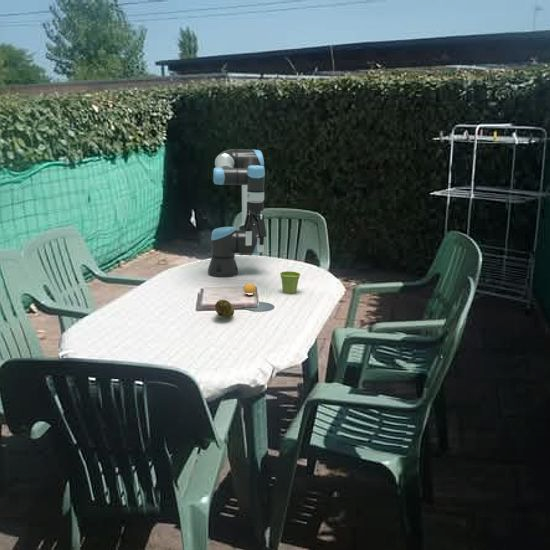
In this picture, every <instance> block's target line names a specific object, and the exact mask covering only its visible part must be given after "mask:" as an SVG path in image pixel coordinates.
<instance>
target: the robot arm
mask: <svg viewBox="0 0 550 550" xmlns="http://www.w3.org/2000/svg"><path fill="white" fill-rule="evenodd" d="M214 166H215V167H214V168H213V183H214V185H220V186H222V185H226V186H227V185H228V186H230V185H231V186H233V185H236V186H241V224H240V225H239V226H238V229H236V228H235V226H222V227H218V228H214V229H213V230H212V232H211V238H210V241H211V257H210V262H209V265H208V268H207V274H208V275H209V276H212V277H217V278H229V277H230V278H231V277H236V276H237V275H238V274H239V268H238V265H237V262H236V257H235V255H236V254H252V255H253V254H261V253H264V252H265V251H264V250H265V247H264V246H265V239H266V238H267V236H268V235H267V230H266V225H265V214H263V213H261V212H262V211H264V210H265V207H264V206H265V202H264V201H265V179H266V177H265V176H266V171H265V170H266V169H265V161H264V155H263V152H262V151H261V150H259V149H253V148H252V149H241V148H240V149H239V148H237V149H236V148H235V149H234V148H231V149H227V150H223V151H221V152H220V153H219V154H218V155H217V156H215V160H214Z"/></svg>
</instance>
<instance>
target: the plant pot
mask: <svg viewBox="0 0 550 550" xmlns="http://www.w3.org/2000/svg"><path fill="white" fill-rule="evenodd" d="M279 275H280V279H281V285H282V293H284V294H289V295H292V294H297V288H298V283H299V279H300V278H301V273H300V272H297V271H291V270H290V271H289V270H288V271H281V272H280V273H279Z"/></svg>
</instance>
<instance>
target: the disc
mask: <svg viewBox="0 0 550 550" xmlns="http://www.w3.org/2000/svg"><path fill="white" fill-rule="evenodd" d="M258 302H259V306H258V307H257V308H243V309H244V310H247V311H250V312H257V313H260V312H261V313H263V312H269V311H272V310H274V309H275V305H274V304H272V303H269V302H266V301H265V302H264V301H258Z"/></svg>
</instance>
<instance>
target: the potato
mask: <svg viewBox="0 0 550 550" xmlns="http://www.w3.org/2000/svg"><path fill="white" fill-rule="evenodd" d="M214 309H215V312H216V313H217V316H219V317H222V318H226V319H227V318H228V319H229V318H231V317H233V315H234V313H235V309H234V306H233V305H232V304H231V302H230V301H228V300H226V299H219V300H217V302H216V303H215V305H214Z"/></svg>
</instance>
